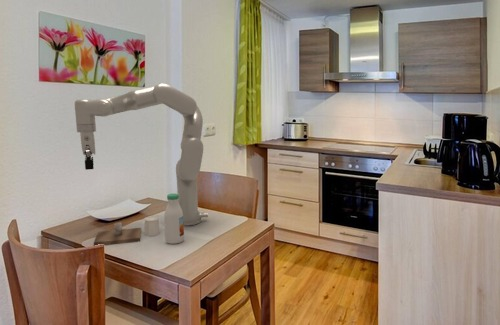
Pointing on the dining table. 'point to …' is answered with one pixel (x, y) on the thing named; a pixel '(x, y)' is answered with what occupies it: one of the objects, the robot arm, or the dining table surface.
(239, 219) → the dining table surface
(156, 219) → the pale grey short cylinder
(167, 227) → the milk bottle
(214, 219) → the dining table surface
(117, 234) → the post base
